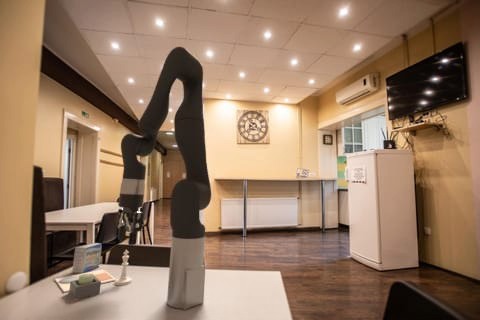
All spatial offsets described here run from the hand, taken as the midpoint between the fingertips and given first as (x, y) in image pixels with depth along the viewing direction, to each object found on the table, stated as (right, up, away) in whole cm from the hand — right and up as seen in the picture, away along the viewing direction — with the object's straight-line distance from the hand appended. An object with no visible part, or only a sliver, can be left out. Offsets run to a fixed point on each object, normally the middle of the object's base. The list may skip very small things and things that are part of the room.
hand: (126, 242), depth 76 cm
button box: (-7, -11, -10) cm, 17 cm away
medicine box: (-19, -13, +9) cm, 25 cm away
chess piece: (0, -13, -2) cm, 13 cm away
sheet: (-13, -12, -1) cm, 17 cm away
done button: (-7, -9, -10) cm, 15 cm away
